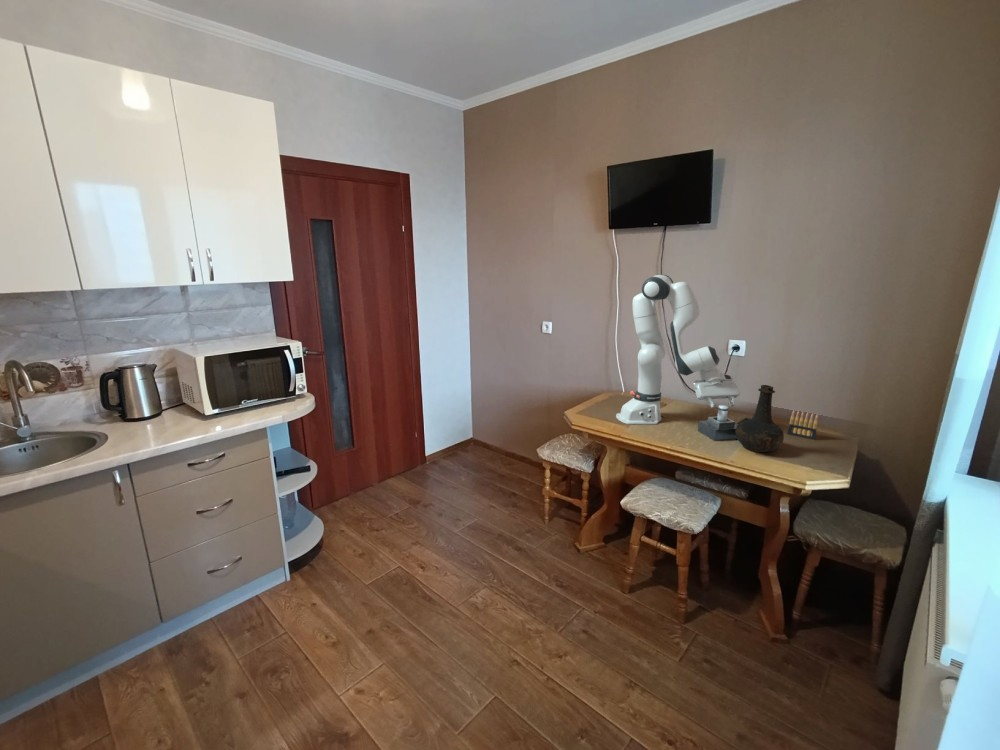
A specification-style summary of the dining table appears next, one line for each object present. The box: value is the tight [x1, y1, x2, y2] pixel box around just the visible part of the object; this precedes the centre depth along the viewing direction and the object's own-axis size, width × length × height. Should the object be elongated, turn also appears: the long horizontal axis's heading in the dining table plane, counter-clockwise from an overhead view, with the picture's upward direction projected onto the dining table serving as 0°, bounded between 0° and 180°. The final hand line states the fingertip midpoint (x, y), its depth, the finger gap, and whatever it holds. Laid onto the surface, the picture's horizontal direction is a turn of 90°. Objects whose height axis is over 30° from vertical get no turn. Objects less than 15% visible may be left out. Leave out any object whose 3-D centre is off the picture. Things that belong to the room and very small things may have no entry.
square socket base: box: [697, 416, 738, 442], centre depth 201 cm, size 14×12×8 cm
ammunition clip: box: [786, 409, 819, 441], centre depth 198 cm, size 11×2×12 cm, turn 49°
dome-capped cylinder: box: [717, 404, 730, 422], centre depth 200 cm, size 4×4×9 cm
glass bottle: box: [735, 384, 785, 453], centre depth 184 cm, size 18×18×28 cm
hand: (723, 406), depth 198 cm, fingers open, 8 cm apart
